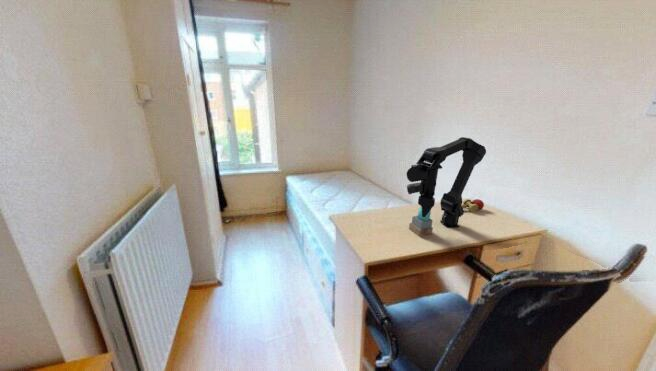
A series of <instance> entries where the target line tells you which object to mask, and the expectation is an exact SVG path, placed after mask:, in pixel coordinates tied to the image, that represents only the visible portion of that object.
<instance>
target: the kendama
mask: <svg viewBox="0 0 656 371" xmlns="http://www.w3.org/2000/svg"><path fill="white" fill-rule="evenodd" d="M484 206H485V204H484V202H483V200H481V199H478V198H476V199H473V200H471V199H470V198H468V199H464V201H462V205H461V207H462V208H463V209H466V208H468V211H469V212H471V213H475V212H478V211H481V210H482V209H483V208H484Z"/></svg>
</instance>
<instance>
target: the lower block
mask: <svg viewBox="0 0 656 371" xmlns="http://www.w3.org/2000/svg"><path fill="white" fill-rule="evenodd" d="M433 228H434V227H430V228H425V229H419V228H418V227H416V226H415V225H413V224H412V222H409V226H408V230H409V231H411V232H412V233H413V234H415V235H416V236H417V237H424V236H429V235H432V234H433Z"/></svg>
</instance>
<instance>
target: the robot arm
mask: <svg viewBox="0 0 656 371" xmlns="http://www.w3.org/2000/svg"><path fill="white" fill-rule="evenodd" d="M461 151H462V155H461V157H462V161H463V162H462V163H461V165H460V168H459V170H458V173H457V175H456V177H455V179H454V181H453V184H452V186H451V188H450V190H449V191H448V192H447V193H446V192H444V193H443V194H442V197H441V199H440V203H439V205H440V209H441V211H443V214H442V216H441V219H440V221H439V222H440V223H441V224H442V225H444V227H446V228H460V224H459V219H460V218H461V217H462V216H464V213H465V210H464V208H462V207H461V205H463V197H462V195H463V192H464V191H465V188H466V186H467V183H468V181H469V179H470V177H471V175H472V173H473V172H474V168H475V166H476V165H478V164H479V163H481V161H482V160H483V159H484V156H486V154H487V149H486V147H485V146H484V145H482V144H480V143H478V142H476V141H475V140H474V139H472V138H470V137H463V136H462V137H459V138H458V139H456V140H453V141H451V142H449V143H447V144H444V145H442V146H439V147H438V146H437V147H436V146H434V147H429V148H426V149H425V150H424V152H423V153H422V154H421V156H420V157H419V159H418V160H417V161H416V163H415V164H411V166H410V168H408V169H407V171H406V178H407V180H408V181H409V182H411V183H409V184H407V185H406V189H407V193H408V195H412V194H417V193H418V194H419V196H418V200H417V204H418V206H420V207H422V217H426V215H427V214H428V212H429V211H430V210H431V211H432V208H434V206H435V204H436V199H435V197H434V196H435V194H436V193H435V191H436V187H437V179H438V174H439V170H442V169H443V166H442V165H441V164H442V163H443V162H445V161H446V159H447V158H448V157H449V156H451V155H453V154H457V153H458V152H461Z"/></svg>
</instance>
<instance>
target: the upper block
mask: <svg viewBox="0 0 656 371" xmlns="http://www.w3.org/2000/svg"><path fill="white" fill-rule="evenodd" d="M417 217H418V215H414V216H413V215H412V219H411V223H412V224H413V225H415V226H416V227H418V228H419V229H425V228H430V227H432V226H433V219H432V218H430V219H429V221H421V220H419V219H418V218H417ZM432 228H433V227H432Z"/></svg>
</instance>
